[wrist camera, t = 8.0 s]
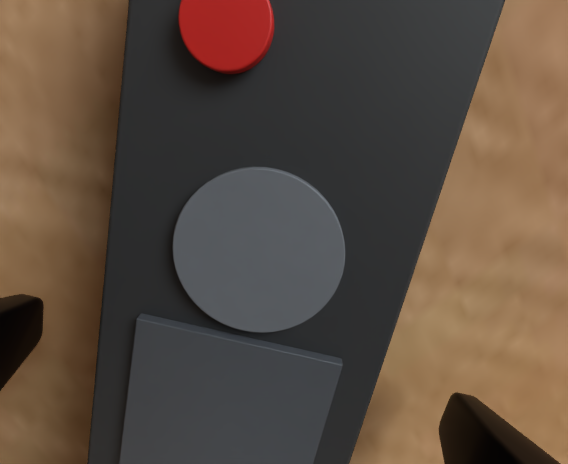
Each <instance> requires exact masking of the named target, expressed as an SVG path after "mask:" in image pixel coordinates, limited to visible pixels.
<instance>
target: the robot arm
mask: <svg viewBox="0 0 568 464" xmlns="http://www.w3.org/2000/svg"><path fill="white" fill-rule="evenodd" d="M43 308H44V306H43V301H42V300H41V299H40V298H38V297H34V296H29V295H25V294H19V295H14V296H9V297H4V298H0V391H1V389H2V388H3V387H4V386H5V384H6V383H7V382H8V381H9V379H10V378H11V377H12V375H13V374H14V373H15V372H16V370H17V369H18V368H19V367H20V365H21V364H22V363H23V362H24V360H25V359H26V358H27V357H28V355H29V354H30V353H31V351H32V350H33V349H34V348H35V346H36V345H37V344H38V342H39V340H40V338H41V336H42V331H43ZM439 436H440V442H441V447H442V452H443V457H444V462H445V464H560V463H559V462H558V461H556V460H555V459H554V458H552V457H551V456H550V455H549V454H547V453H546V452H545V451H543V450H542V449H541V448H540V447H538V446H537V445H536V444H534V443H533V442H532V441H531V440H529V439H528V438H527V437H526V436H524V435H523V434H522V433H520V432H519V431H518V430H517V429H515V428H514V427H513V426H511V425H510V424H509V423H508V422H506V421H505V420H504V419H502V418H501V417H500V416H499V415H497V414H496V413H495V412H493V411H492V410H491V409H490V408H488V407H487V406H486V405H485V404H483V403H482V402H481V401H479V400H478V399H477V398H475V397H474V396H471V395H466V394H462V393H454V394H452V395H451V397H450V399H449V401H448V404H447V406H446V409H445V411H444V414H443V416H442V418H441V421H440V425H439Z"/></svg>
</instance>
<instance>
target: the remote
mask: <svg viewBox="0 0 568 464" xmlns="http://www.w3.org/2000/svg"><path fill="white" fill-rule="evenodd" d="M504 2H505V0H129V7H128V19H127V30H126V41H125V52H124V63H123V74H122V85H121V96H120V107H119V118H118V130H117V141H116V152H115V163H114V174H113V185H112V196H111V207H110V218H109V229H108V241H107V252H106V263H105V274H104V285H103V296H102V307H101V318H100V329H99V340H98V352H97V363H96V374H95V385H94V396H93V407H92V418H91V429H90V440H89V451H88V463H87V464H349V462H350V459H351V456H352V453H353V450H354V447H355V444H356V441H357V439H358V436H359V433H360V430H361V427H362V424H363V421H364V418H365V415H366V412H367V409H368V406H369V403H370V400H371V397H372V394H373V391H374V388H375V385H376V382H377V379H378V376H379V373H380V370H381V367H382V364H383V361H384V358H385V355H386V352H387V349H388V346H389V344H390V341H391V338H392V335H393V332H394V329H395V326H396V323H397V320H398V317H399V314H400V311H401V308H402V305H403V302H404V299H405V296H406V293H407V290H408V287H409V284H410V281H411V278H412V275H413V272H414V269H415V266H416V263H417V260H418V257H419V254H420V252H421V249H422V246H423V243H424V240H425V237H426V234H427V231H428V228H429V225H430V222H431V219H432V216H433V213H434V210H435V207H436V204H437V201H438V198H439V195H440V192H441V189H442V186H443V183H444V180H445V177H446V174H447V171H448V168H449V165H450V162H451V159H452V157H453V154H454V151H455V148H456V145H457V142H458V139H459V136H460V133H461V130H462V127H463V124H464V121H465V118H466V115H467V112H468V109H469V106H470V103H471V100H472V97H473V94H474V91H475V88H476V85H477V82H478V79H479V76H480V73H481V70H482V67H483V65H484V62H485V59H486V56H487V53H488V50H489V47H490V44H491V41H492V38H493V35H494V32H495V29H496V26H497V23H498V20H499V17H500V14H501V11H502V8H503V5H504Z"/></svg>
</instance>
